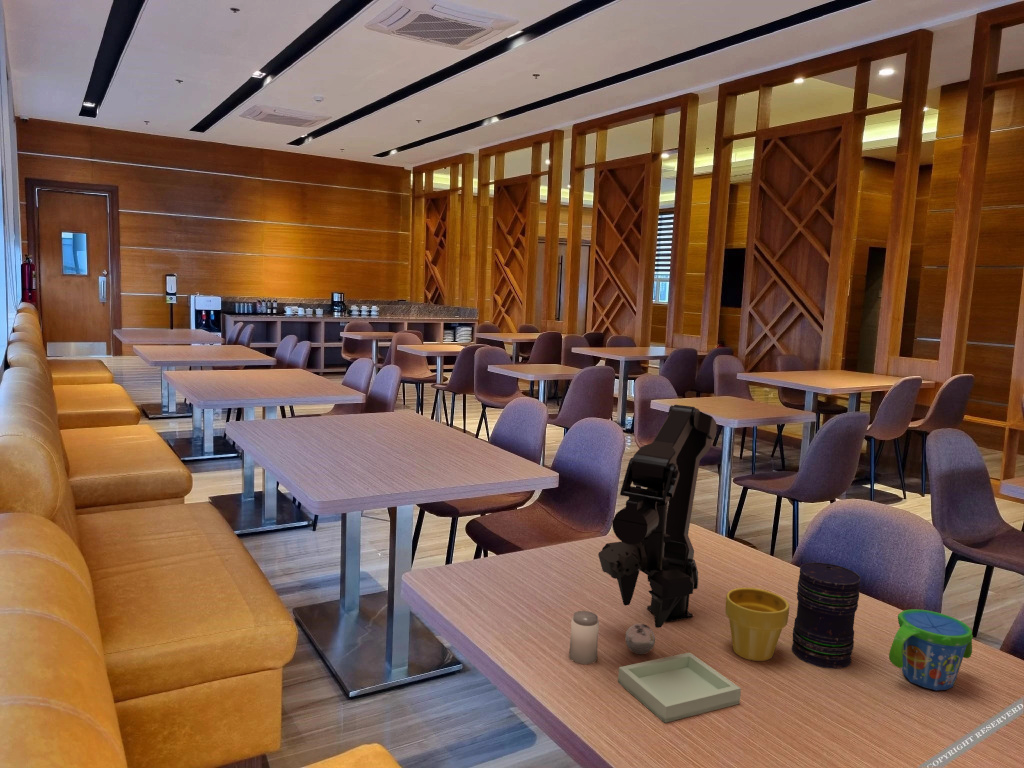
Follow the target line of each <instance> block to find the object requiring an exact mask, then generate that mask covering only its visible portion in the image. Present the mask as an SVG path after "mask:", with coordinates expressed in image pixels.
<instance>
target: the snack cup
mask: <svg viewBox="0 0 1024 768" xmlns="http://www.w3.org/2000/svg"><path fill="white" fill-rule="evenodd" d="M897 620H898V625H899V628H898V630H897V632H896V633H895V635H894V636H893V637H894V638H893V640H892V642H891V646H890V648H889V653H888V658H889V661H890V663H891V664H892V665H893V666H894V667H897V668H899V669H901V670H902V673H903V675H904V677H906V678H907V680H908V681H909V682H910V683H912V684H915V685H917V686H919V687H923V688H926V689H930V690H934V691H945V690H949V689H951V688H954V686H955V682H956V679H957V677H958V673H959V672H960V668H961V665H962V662H963V660H964V659H970V658H971V656H972V654H973V638H974V635H973V631H972V629H971V627H970V626H969V625H967V624H966V623H965V622H964V621H961V620H960V619H957V618H955V617H953V616H950V615H946V614H945V613H944V614H943V613H940V612H938V611H937V612H936V611H932V610H926V609H918V608H917V609H914V608H913V609H906V610H902V611H901V612H899V613H898V615H897ZM963 658H964V659H963Z"/></svg>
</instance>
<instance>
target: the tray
mask: <svg viewBox="0 0 1024 768" xmlns="http://www.w3.org/2000/svg"><path fill="white" fill-rule="evenodd" d="M617 683H618V684H619V685H620V686H621V687H623V688H624V689H625V690H626V691H627V692H629V694H630V695H632V696H633V697H634V698H635V699H636V700H638V701H639V703H641V704H643V706H645V707H646V708H647V709H648V710H649V711H650V712H652V713H653V714H654V715H655V716H656V717H657V718H658V719H659V720H661V721H662V722H663V723H664V724H665V723H670V722H675V721H678V720H682V719H685V718H690V717H694V716H697V715H700V714H701V715H702V714H704V713H710V712H713V711H716V710H721V709H724V708H728V707H732V706H735V705H739V704H740V700H741V691H742V688H741V687H740V686H739V685H737V684H735V683H734V682H733V681H732V680H730V679H729V678H727V677H725V676H724V675H723V674H721V673H720V672H718V670H715V669H714V668H712V667H711V666H710V665H709V664H708V663H705V661H703V660H702V659H700V658H698V657H697V656H695V654H693V653H691V652H690V651H689V652H685V653H681V654H680V653H679V654H676V655H671V656H666V657H665V656H664V657H661V658H657V659H652V660H647V661H642V662H638V663H633V664H628V665H624V666H619V667H618V679H617Z"/></svg>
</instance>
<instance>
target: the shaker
mask: <svg viewBox="0 0 1024 768" xmlns="http://www.w3.org/2000/svg"><path fill="white" fill-rule="evenodd" d="M570 621H571V624H570V638H569V639H570V640H569V655H568V657H569V659H570V660H571V661H572V660H573V661H572V662H574V661H575V662H574V663H576V662H577V664H579V663H580V664H579V665H591V664H593V662H594V663H596V661H597V658H598V646H599V645H598V643H599V628H600V620H599V619H598V615H597V614H596V613H594V612H592V611H589V610H578V611H576V612H574V613H573V616H572V617H571V620H570ZM590 663H591V664H590Z"/></svg>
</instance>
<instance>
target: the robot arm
mask: <svg viewBox="0 0 1024 768" xmlns="http://www.w3.org/2000/svg"><path fill="white" fill-rule="evenodd" d="M667 412H668V413H667V417H666V419H665V421H664V423H662V425H661V427H660V429H659V430H658V432H657V434H656V436H655V438H654V439H653V441H652V442H651V443H649V444H648V443H647V444H646V445H642V446H641V447H639V448H638V450H637V451H636V452H635V453H634V455H633V456H632V457H631V458H630V459H629V461H628V464H627V467H626V470H625V471H626V472H625V475H624V478H623V482H622V484H621V485H622V486H621V489H620V492H619V495H620V496H622V497H627V498H628V499H627V500H626V502H625V507H622V508H621V509H620V510H619V511H618V512H616V514H615V515H614V517H613V518H612V524H611V525H612V531H613V533H614V535H615V536H616V537H617V539H618V540H619V541H615V542H607V543H606V544H605V545H604V546H603V547H602V549H601V550H600V551H599V552H598V553H597V555H598V558H599V562H600V565H601V566H600V567H601V570H602V572H603V573H606V574H607V575H609V576H610V577H611V578H613V579H616V580H617V584H618V587H619V593H620V595H621V600H622V604H623V606H625V607H626V606H629V605H630V604H631V602H632V599H633V597H634V592H635V589H636V585H637V582H638V578H639V575H640V572H642V573H643V574H646V576H647V582H649V588H650V590H648V592H649V593H648V594H649V595H651V600H650V605H648V606H647V607H646V610H648V611H650V612H651V613H652V614H654V626H655V628H657V629H659V628H662V627H663V625H664V624H665V622H667V623H668V622H675V621H680V620H684V619H690V618H694V614H693V613H692V612H690V611H689V601H690V595H693V594H694V590H697V589H698V588H699V587H698V586H699V571H698V567H697V563H696V560H695V559H694V556H695V549H694V547H693V544H692V541H691V539H690V537H689V532H690V525H691V519H692V512H693V505H694V499H695V498H694V497H695V493H696V487H697V482H698V481H697V480H698V476H699V475H698V473H699V467H700V461H701V460H702V459H703V458H704V457H705V456H706V454H707V453H708V452H709V451H710V449H711V446H712V441H713V440H715V438H716V434H717V421H716V420H715V418H714V417H713V416H712V415H710V414H707V413H705V412H702V411H700V409H699V408H697V407H695V406H690V405H682V404H674V405H670V406H669V408H668V411H667Z"/></svg>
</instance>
